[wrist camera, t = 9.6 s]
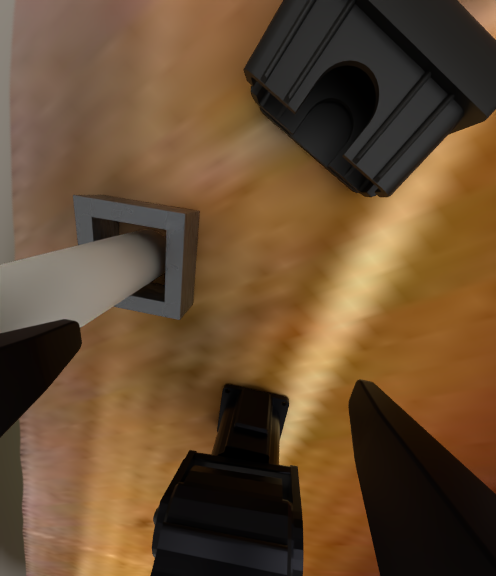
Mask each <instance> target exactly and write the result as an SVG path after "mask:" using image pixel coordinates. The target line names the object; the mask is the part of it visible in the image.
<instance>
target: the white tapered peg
mask: <svg viewBox="0 0 496 576" xmlns="http://www.w3.org/2000/svg"><path fill="white" fill-rule="evenodd" d="M165 272H166V238H165V237H164V236H163V235H162V234H161V233H159V232H157V231H155V230H151V229H142V230H138V231H134V232H130V233H126V234H122V235H118V236H114V237H110V238H106V239H102V240H98V241H94V242H90V243H86V244H82V245H78V246H73V247H69V248H65V249H61V250H57V251H53V252H49V253H45V254H41V255H37V256H33V257H29V258H25V259H21V260H17V261H13V262H9V263H5V264H1V265H0V333H4V332H8V331H13V330H17V329H21V328H26V327H30V326H35V325H39V324H44V323H48V322H53V321H57V320H61V319H68V320H73V321H77V322H78V323H79V325H80V328H81V327H83V326H84V325H86V324H87V323H89V322H90V321H92V320H93V319H95V318H96V317H98V316H99V315H101V314H102V313H104V312H106V311H107V310H109V309H110V308H112V307H113V306H115V305H116V304H118V303H119V302H121V301H122V300H124V299H125V298H127V297H129V296H130V295H132V294H133V293H135V292H136V291H138V290H139V289H141V288H142V287H144V286H145V285H147V284H149V283H150V282H152V281H153V280H155V279H156V278H158V277H159V276H161V275H162V274H164V273H165Z"/></svg>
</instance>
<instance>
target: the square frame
mask: <svg viewBox="0 0 496 576" xmlns="http://www.w3.org/2000/svg"><path fill="white" fill-rule="evenodd" d="M73 201H74V210H75V220H76V229H77V239H78V245H82V244H86V243H90V242H94V241H98V240H102V239H106V238H110V237H114V236H118V235H119V224H118V221H119V222H125V223H130V224H136V225H142V226H148V227H153V228H159V229H165V230H167V231H166V272H165V286H164V285H159V284H154V283H149V284H147V285H145V286H144V287H142V288H141V289H139V290H138V291H136V292H135V293H133V294H132V295H130V296H129V297H127V298H125V299H124V300H122V301H121V302H119V303H118V304H116V305H115V306H114V307H119V308H124V309H128V310H133V311H138V312H143V313H148V314H153V315H158V316H163V317H168V318H173V319H178V320H180V319H181V318H182V317H183V315H184V314H185V313H186V312H187V311H188V310H189V308H190V307H191V306H192V305H193V297H194V283H195V269H196V255H197V241H198V227H199V213H200V211H197V210H191V209H185V208H179V207H173V206H167V205H160V204H154V203H148V202H142V201H136V200H130V199H124V198H118V197H112V196H106V195H73Z"/></svg>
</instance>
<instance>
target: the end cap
mask: <svg viewBox="0 0 496 576" xmlns="http://www.w3.org/2000/svg"><path fill="white" fill-rule="evenodd" d="M244 73H245V76H246V79H247V81H248V82H249V83H250V84H251V85H252V86H251V94H252V97H253V99H254V101H255V102H256V103H257V104H258V105H259V106H260V110H261V111H262V113H263V114H264V115H265V116H266V117H267V118H269V119H270V120H271V121H272V122H273V123H274V124H275V125H277V126H278V127H279V128H280V129H281V130H282V131H284V132H285V133H286V134H287V135H288V136H289V137H290V138H292V139H293V140H294V141H295V142H296V143H297V144H299V145H300V146H301V147H302V148H303V149H304V150H305V151H307V152H308V153H309V154H310V155H311V156H312V157H314V158H315V159H316V160H317V161H318V162H319V163H320V164H322V165H323V166H324V167H325V168H326V169H327V170H329V171H330V172H331V173H332V174H333V175H334V176H335V177H337V178H338V179H339V180H340V181H341V182H342V183H344V184H345V185H346V186H347V187H348V188H349V189H350V190H352V191H353V192H355V193H360V194H362V195H363V196H365V197H372V196H376V195H378V196H379V197H389V196H391V195H392V194H393V193H394V191H395V190H396V189H397V188H398V187H399V186H400V185H401V184H402V183H403V182H404V181H405V180H406V179H407V178H408V177H409V176H410V175H411V173H412V172H413V171H414V170H415V169H416V168H417V167H418V166H419V165H420V164H421V163H422V162H423V161H424V160H425V159H426V158H427V156H428V155H429V154H430V153H431V152H432V151H433V150H434V149H435V148H436V147H437V146H438V145H439V144H440V143H441V142H442V141H443V140H444V138H445V137H446V136H447V135H448V134H451V133H454V132H456V131H459V130H462V129H465V128H467V127H470V126H473V125H475V124H478V123H481V122H483V121H485V120H486V119H487V118H488V117H489V116H490V115H491V114H492V113H493V112H494V111H495V110H496V40H495V39H494V38H493V37H492V36H491V35H490V34H489V33H488V32H487V31H486V30H485V29H484V27H483V26H482V25H481V24H480V23H479V22H478V21H477V20H476V19H475V18H474V17H473V16H472V15H471V14H470V13H469V12H468V11H467V10H466V9H465V8H464V7H463V6H462V5H461V4H460V3H459V2H458V1H457V0H283V2H282V4H281V5H280V7H279V9H278V10H277V12H276V14H275V16H274V17H273V19H272V21H271V23H270V24H269V26H268V28H267V30H266V31H265V33H264V35H263V36H262V38H261V40H260V42H259V43H258V45H257V47H256V49H255V50H254V52H253V54H252V56H251V57H250V59H249V61H248V62H247V64H246V66H245V68H244Z"/></svg>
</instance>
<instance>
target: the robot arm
mask: <svg viewBox="0 0 496 576" xmlns="http://www.w3.org/2000/svg"><path fill="white" fill-rule="evenodd" d="M81 344H82V340H81V332H80V325H79V323H78V322H77V321H73V320H68V319H61V320H57V321H53V322H48V323H44V324H39V325H35V326H30V327H26V328H21V329H17V330H13V331H8V332H4V333H0V437H1V436H2V435H3V434H4V433H5V432H6V431H7V430H8V429H9V428H10V427H11V426H12V425H13V424H14V423H15V422H16V421H17V420H18V419H19V418H20V417H21V416H22V415H23V414H24V413H25V412H26V411H27V410H28V409H29V408H30V406H31V405H32V404H33V403H34V402H35V401H36V400H37V399H38V398H39V397H40V396H41V395H42V394H43V393H44V392H45V391H46V390H47V389H48V387H49V386H50V385H51V384H52V383H53V381H54V380H55V379H56V378H57V377H58V375H59V374H60V373H61V372H62V370H63V369H64V368H65V367H66V366H67V364H68V363H69V362H70V361H71V359H72V358H73V357H74V356H75V354H76V353H77V352H78V351H79V349H80V347H81ZM227 389H229V390H227ZM283 402H285V403H283ZM288 407H289V399H288V398H287V397H284V396H280V395H275V394H271V393H266V392H262V391H257V390H253V389H248V388H243V387H239V386H234V385H230V384H226V385H225V386H224V388H223V391H222V399H221V406H220V413H219V420H218V428H217V432H218V433H217V437H216V440H215V444H214V447H213V451H212V454H211V455H210V454H204V453H197V452H196V451H192V450H190V451H189V452H188V454H187V456H186V458H185V459H184V460H183V462H182V463H181V465H180V467H179V469H178V471H177V472H176V474H175V476H174V478H173V480H172V481H171V483H170V485H169V487H168V489H167V490H166V492H165V494H164V496H163V497H162V499H161V501H160V505H159V507H158V508H157V509H156V511H155V514H154V518H153V521H154V524H155V529H154V534H153V541H152V554H153V556H154V557H155V560H154V564H153V569H152V572H151V576H303V520H302V508H301V497H300V487H299V477H298V467H297V466H292V465H290V466H283V465H279V441H280V437H281V433H282V429H283V426H284V422H285V418H286V415H287V411H288ZM349 416H350V424H351V433H352V442H353V450H354V458H355V463H356V469H357V473H358V478H359V482H360V487H361V491H362V496H363V500H364V505H365V509H366V514H367V518H368V523H369V527H370V532H371V536H372V541H373V545H374V550H375V554H376V558H377V563H378V567H379V572H380V576H496V494H495V493H494V492H493V491H492V490H491V489H489V488H488V487H487V486H486V485H485V484H484V483H483V482H482V481H481V480H480V479H479V478H477V477H476V476H475V475H474V474H473V473H472V472H471V471H470V470H469V469H468V468H466V467H465V466H464V465H463V464H462V463H461V462H460V461H459V460H458V459H457V458H455V457H454V456H453V455H452V454H451V453H450V452H449V451H448V450H447V449H446V448H445V447H443V446H442V445H441V444H440V443H439V442H438V441H437V440H436V439H435V438H434V437H432V436H431V435H430V434H429V433H428V432H427V431H426V430H425V429H424V428H423V427H421V426H420V425H419V424H418V423H417V422H416V421H415V420H414V419H413V418H412V417H411V416H409V415H408V414H407V413H406V412H405V411H404V410H403V409H402V408H401V407H400V406H398V405H397V404H396V403H395V402H394V401H393V400H392V399H391V398H390V397H389V396H387V395H386V394H385V393H384V392H383V391H382V390H381V389H380V388H379V387H378V386H377V385H375V384H374V383H373V382H371V381H366V380H361V379H360V380H357V382H356V383H355V386H354V389H353V391H352V394H351V397H350V399H349Z"/></svg>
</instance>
